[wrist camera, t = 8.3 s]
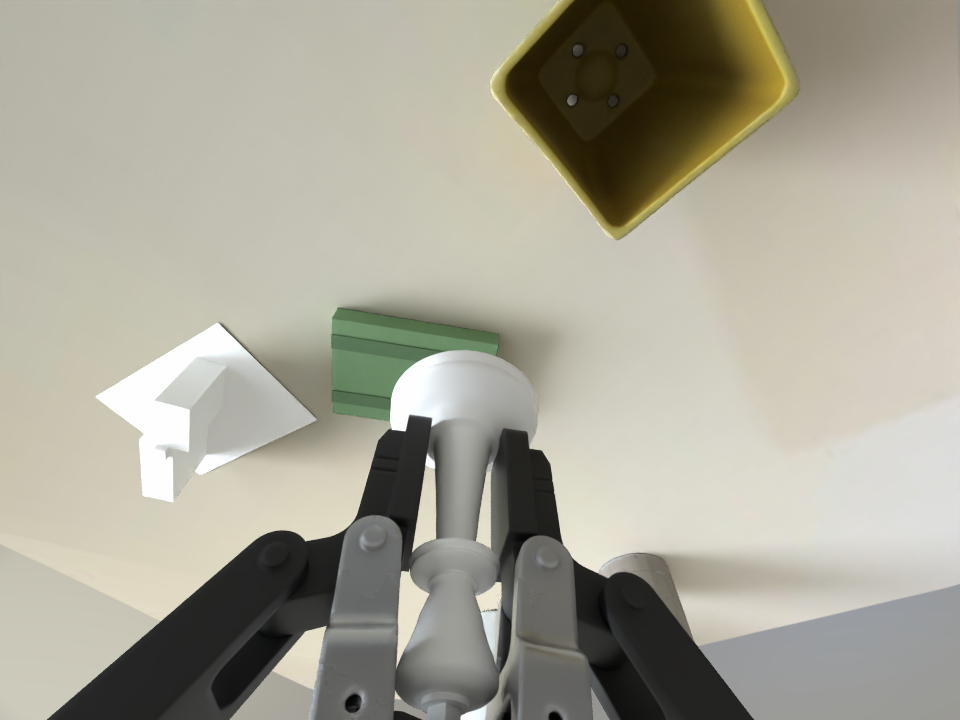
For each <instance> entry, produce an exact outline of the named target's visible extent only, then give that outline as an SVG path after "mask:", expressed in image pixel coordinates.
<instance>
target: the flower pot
mask: <svg viewBox="0 0 960 720" xmlns="http://www.w3.org/2000/svg"><path fill="white" fill-rule="evenodd" d="M577 44H580V45H582V46H583V53H582V55H581V56H579V57H575V56H574V55H573V48H574V46H575V45H577ZM620 45H624V46H625V47H626V54H625V55H624V56H623V57H622V58H619V57H617V56H616V49H617V47H618V46H620ZM490 91H491V93H492V95H493V97H494V98H495V99H496V100H497V101H498V102H499V104H500V105H501V106H502V107H503V109H504V110H505V111H506V112H507V113H508V114H509V116H510V117H511V118H512V119H513V120H514V121H515V122H516V123H517V125H518V126H519V127H520V128H521V129H522V130H523V131H524V133H525V134H526V135H527V136H528V137H529V138H530V140H531V141H532V142H533V143H534V144H535V145H536V147H537V148H538V149H539V150H540V151H541V152H542V154H543V155H544V156H545V157H546V158H547V160H548V161H549V162H550V163H551V164H552V165H553V167H554V168H555V169H556V171H557V172H558V173H559V174H560V176H561V177H562V178H563V179H564V181H565V182H566V183H567V184H568V186H569V187H570V188H571V190H572V191H573V192H574V193H575V195H576V196H577V197H578V199H579V200H580V201H581V202H582V204H583V205H584V206H585V207H586V209H587V210H588V211H589V212H590V214H591V215H592V216H593V218H594V219H595V220H596V222H597V223H598V224H599V226H600V227H601V228H602V230H603V231H604V232H605V233H606V234H607V235H608V236H609V237H610V238H612V239H614V240H619V239H621V238H623V237H624V236H626V235H627V234H628V233H630V232H631V231H632V230H633V229H635V228H636V227H637V226H638V225H639V224H641V223H642V222H643V221H644V220H646V219H647V218H648V217H649V216H650V215H652V214H653V213H654V212H656V211H657V210H658V209H659V208H660V207H661V206H663V205H664V204H665V203H666V202H667V201H669V200H670V199H671V198H672V197H673V196H675V195H676V194H677V193H678V192H680V191H681V190H682V189H683V188H685V187H686V186H687V185H688V184H690V183H691V182H692V181H693V180H695V179H696V178H697V177H698V176H700V175H701V174H702V173H703V172H704V171H706V170H707V169H708V168H710V167H711V166H712V165H713V164H715V163H716V162H717V161H718V160H720V159H721V158H722V157H723V156H725V155H726V154H727V153H728V152H729V151H731V150H732V149H733V148H734V147H736V146H737V145H738V144H739V143H741V142H742V141H743V140H745V139H746V138H747V137H749V136H750V135H751V134H752V133H754V132H755V131H756V130H757V129H758V128H760V127H761V126H762V125H763V124H765V123H766V122H767V121H768V120H770V119H771V118H772V117H773V116H774V115H776V114H777V113H778V112H780V111H781V110H782V109H783V108H784V107H785V106H786V105H787V104H788V103H789V102H791V101H792V100H793V99H794V98H795V97H796V96H797V95H798V93H799V91H800V89H799V80H798V77H797V74H796V71H795V69H794V67H793V65H792V63H791V61H790V58H789V56H788V54H787V52H786V50H785V48H784V45H783V43H782V41H781V39H780V37H779V35H778V33H777V31H776V29H775V27H774V25H773V23H772V21H771V19H770V17H769V15H768V12H767V10H766V8H765V6H764V4H763V2H762V0H559V1H558V2H557V3H556V4H555V5H554V6H553V7H552V9H551V10H550V11H549V12H548V13H547V14H546V15H545V17H544V18H543V19H542V20H541V21H540V22H539V23H538V24H537V25H536V26H535V28H534V29H533V30H532V31H531V32H530V33H529V34H528V35H527V36H526V38H525V39H524V40H523V41H522V42H521V43H520V44H519V45H518V46H517V47H516V49H515V50H514V51H513V52H512V53H511V54H510V55H509V56H508V57H507V58H506V60H505V61H504V62H503V63H502V64H501V65H500V67H499V68H498V69H497V70H496V72H495V73H494V74H493V76H492V78H491V81H490ZM572 94H574V95H576V96H577V102H576V104H575V105H573V106H570V105H568V103H567V99H568V97H569V96H570V95H572ZM612 95H615V96H617V98H618V102H617V104H616V105H615V106H613V107H610V106H609V105H608V99H609V97H610V96H612Z"/></svg>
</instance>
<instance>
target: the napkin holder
mask: <svg viewBox="0 0 960 720" xmlns="http://www.w3.org/2000/svg"><path fill="white" fill-rule="evenodd" d="M96 398H97V399H99V400H100V401H101V402H103V403H104V404H105V405H107V406H108V407H109V408H111V409H112V410H114V411H115V412H116V413H118V414H119V415H120V416H122V417H123V418H124V419H126V420H127V421H128V422H130V423H131V424H132V425H134V426H135V427H136V428H138V429H139V430H140V431H142V432H143V433H145V434H144V435H143V436H142V437H141V438H140V439H139V448H140V462H141V477H142V492H143V496H147V497H151V498H156V499H160V500H165V501H169V502H174V500H175V499H176V498H177V496H178V495H179V493H180V492H181V490H182V489H183V488H184V486H185V485H186V483H187V482H188V480H189V479H190V478H191V476H192V475H193V473H194V472H195V471H196V472H197V473H199V474H200V475H202V474H204V473H206V472H208V471H210V470H212V469H214V468H217V467H219V466H221V465H223V464H225V463H227V462H229V461H231V460H234V459H236V458H238V457H240V456H242V455H244V454H246V453H248V452H251V451H253V450H255V449H257V448H259V447H261V446H263V445H265V444H268V443H270V442H272V441H274V440H276V439H278V438H280V437H282V436H285V435H287V434H289V433H291V432H293V431H295V430H297V429H299V428H302V427H304V426H306V425H308V424H310V423H312V422H314V421H316V420H317V419H316V418H315V417H314V416H313V415H312V414H311V413H310V412H309V411H308V410H307V409H306V408H305V407H304V406H303V405H302V404H301V403H300V402H299V401H298V400H297V399H296V398H295V397H294V396H293V395H292V394H291V393H289V392H288V391H287V390H286V389H285V388H284V387H283V386H282V385H281V384H280V383H279V382H278V381H277V380H276V379H275V378H274V377H273V376H272V375H271V374H270V373H269V372H268V371H267V370H266V369H265V368H264V367H263V366H262V365H261V364H260V363H259V362H258V361H257V360H256V359H255V358H254V357H253V356H251V355H250V354H249V353H248V352H247V351H246V350H245V349H244V348H243V347H242V346H241V345H240V344H239V343H238V342H237V341H236V340H235V339H234V338H233V337H232V336H231V335H230V334H229V333H228V332H227V331H226V330H225V329H224V328H223V327H222V326H221V325H220V324H219V323H217V324H215V325H214V326H212V327H210V328H209V329H207V330H205V331H204V332H202V333H200V334H199V335H197V336H195V337H194V338H192V339H190V340H189V341H187V342H185V343H184V344H182V345H180V346H179V347H177V348H175V349H174V350H172V351H170V352H169V353H167V354H166V355H164V356H162V357H161V358H159V359H157V360H156V361H154V362H152V363H151V364H149V365H147V366H146V367H144V368H142V369H141V370H139V371H137V372H136V373H134V374H132V375H131V376H129V377H127V378H126V379H124V380H122V381H121V382H119V383H118V384H116V385H114V386H113V387H111V388H109V389H108V390H106V391H104V392H103V393H101V394H99V395H98V396H96Z"/></svg>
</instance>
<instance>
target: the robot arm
mask: <svg viewBox="0 0 960 720" xmlns="http://www.w3.org/2000/svg"><path fill="white" fill-rule="evenodd" d="M431 425H432V418H431V417H424V416H417V415H410V414H409V417H408V422H407V426H406V431H400V430H392V429H389V430H388V431H387V432H386V433H385V434H384V435H383V436H382V437H381V438H380V439H379V440H378V444H377V447H376V451H375V454H374V458H373V461H372V465H371V469H370V472H369V475H368V479H367V482H366V486H365V490H364V493H363V497H362V500H361V504H360V507H359V511H358V514H357V516H356V518H355V520H354V521H353V522H352V524H351V525H350V526H349V527H348V528H346V529H345V530H344V531H342V532H340V533H338V534H336V535H334V536H331V537H327V538H322V539H317V540H311V541H306V542H305V540H304V539H303V538H302V537H301V536H300V535H298V534H296V533H294V532H291V531H283V530H280V531H274V532H270V533H267V534H265V535H263V536H261V537H259V538H258V539H256V540H255V541H254V542H253V543H251V544H250V545H249V546H248V547H247V548H246V549H244V550H243V551H242V552H241V553H240V554H239V555H237V556H236V557H235V558H234V559H233V560H232V561H230V562H229V563H228V564H227V565H226V566H225V567H224V568H222V569H221V570H220V571H219V572H218V573H217V574H215V575H214V576H213V577H212V578H211V579H210V580H208V581H207V582H206V583H205V584H204V585H203V586H201V587H200V588H199V589H198V590H197V591H196V592H195V593H193V594H192V595H191V596H190V597H189V598H188V599H186V600H185V601H184V602H183V603H182V604H181V605H179V606H178V607H177V608H176V609H175V610H174V611H172V612H171V613H170V614H169V615H168V616H167V617H165V618H164V619H163V620H162V621H161V622H160V623H159V624H157V625H156V626H155V627H154V628H153V629H152V630H150V631H149V632H148V633H147V634H146V635H145V636H144V637H142V638H141V639H140V640H139V641H138V642H136V643H135V644H134V645H133V646H132V647H131V648H130V649H128V650H127V651H126V652H125V653H124V654H123V655H121V656H120V657H119V658H118V659H117V660H116V661H115V662H113V663H112V664H111V665H110V666H109V667H107V668H106V669H105V670H104V671H103V672H102V673H100V674H99V675H98V676H97V677H96V678H95V679H94V680H92V681H91V682H90V683H89V684H88V685H87V686H86V687H84V688H83V689H82V690H81V691H80V692H78V693H77V694H76V695H75V696H74V697H73V698H71V699H70V700H69V701H68V702H67V703H66V704H65V705H63V706H62V707H61V708H60V709H59V710H58V711H56V712H55V713H54V714H53V715H52V716H51V717H49V718H48V719H47V720H230V718H231V717H232V716H233V715H234V714H235V713H236V711H237V710H238V709H239V708H240V707H241V705H242V704H243V703H244V702H245V701H246V700H247V699H248V698H249V696H250V695H251V694H252V693H253V692H254V690H255V689H256V688H257V687H258V686H259V685H260V684H261V682H262V681H263V680H264V679H265V678H266V676H267V675H268V674H269V673H270V672H271V671H272V670H273V668H274V667H275V666H276V665H277V664H278V663H279V661H280V660H281V659H282V658H283V657H284V656H285V655H286V653H287V652H288V651H289V650H290V649H291V648H292V646H293V645H294V644H295V643H296V642H297V641H298V639H299V638H300V637H301V636H302V635H303V634H304V632H305V631H308V630H312V629H316V628H320V627H324V626H327V627H326V630H325V634H324V638H323V643H322V649H321V654H320V660H319V665H318V671H317V676H316V682H315V687H314V693H313V698H312V704H311V710H310V715H309V720H421V719H419V718H417V717H414V716H412V715H410V714H407V713H405V712H402V711H394V697H395V679H396V662H397V644H398V605H399V588H400V577H401V571H407V572H409V559H410V556H411V554H412V548H413V542H414V536H415V529H416V523H417V517H418V510H419V504H420V497H421V491H422V484H423V477H424V471H425V464H426V458H427V451H428V445H429V438H430V432H431ZM491 550H492V551H493V552H494V553H495V554H496V555H497V557H498V559H499V562H500V570H499V573H498V576H497V580H496V582H501V585H502V597H501V600H500V603H499V606H498V613H497V625H496V637H495V649H494V661H495V664H496V668H497V672H498V677H499V690H498V692H497V694H496V696H495V697H494V699H493V700H492V701H491V702H490V703H488V704H487V709H486V715H485V720H593V713H592V712H593V711H592V698H591V687H592V689H593V691H594V693H595V694H596V696H597V698H598V700H599V702H600V703H601V705H602V706H603V709H604V710H605V712H606V714H607V716H608V717H609V719H610V720H754V719H753V718H752V717H751V715H750V714H749V713H748V712H747V710H746V709H745V708H744V706H743V705H742V704H741V702H740V701H739V700H738V699H737V697H736V696H735V695H734V693H733V692H732V691H731V689H730V688H729V687H728V685H727V684H726V683H725V682H724V680H723V679H722V678H721V676H720V675H719V674H718V673H717V671H716V670H715V669H714V667H713V666H712V665H711V663H710V662H709V661H708V659H707V658H706V657H705V656H704V654H703V653H702V652H701V650H700V649H699V648H698V646H697V645H696V644H695V642H694V641H693V640H692V639H691V637H690V636H689V635H688V633H687V632H686V631H685V629H684V628H683V627H682V626H681V624H680V623H679V622H678V620H677V619H676V618H675V616H674V615H673V614H672V613H671V611H670V610H669V609H668V607H667V606H666V605H665V603H664V602H663V601H662V600H661V598H660V597H659V596H658V594H657V593H656V592H655V590H654V589H653V588H652V587H651V586H650V584H648V583H647V582H646V581H645V580H644V579H642V578H641V577H639V576H637V575H635V574H633V573H629V572H617V573H614V574H613V575H611V576H610V577H609V578H607V577H605V576H603V575H600V574H598V573H596V572H594V571H591V570H589V569H587V568H585V567H583V566H582V565H580V564H579V563H577V562H576V561H575V560H574V559H573V558H572V557H571V555H570V553H569V552H568V550H567V549H566V548H565V547H564V545H563V542H562V539H561V533H560V526H559V520H558V513H557V506H556V500H555V494H554V486H553V482H552V473H551V466H550V463H549V462H548V460H547V458H546V457H545V455H544V453H543V452H542V451H541V450H534V449H529V440H528V433H527V431H521V430H514V429H507V428H503V430H502V433H501V436H500V444H499V448H498V452H497V455H496V458H495V459H494V461H493V466H492V472H491Z"/></svg>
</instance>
